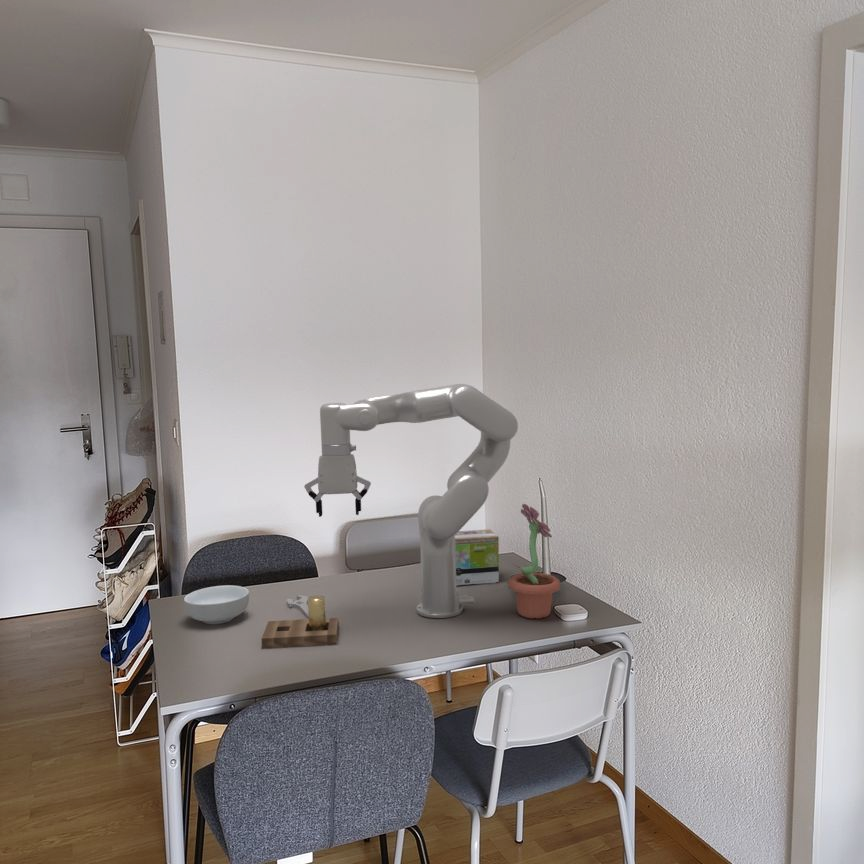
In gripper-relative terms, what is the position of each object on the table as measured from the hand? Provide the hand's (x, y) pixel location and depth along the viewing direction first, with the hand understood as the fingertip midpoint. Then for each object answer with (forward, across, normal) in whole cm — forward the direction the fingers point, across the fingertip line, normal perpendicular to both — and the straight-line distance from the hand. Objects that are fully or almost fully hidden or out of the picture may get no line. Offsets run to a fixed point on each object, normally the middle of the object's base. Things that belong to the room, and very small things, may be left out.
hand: (339, 514), depth 205 cm
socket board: (+28, +10, +12) cm, 32 cm away
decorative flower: (+28, -51, +5) cm, 59 cm away
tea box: (+29, -38, -28) cm, 55 cm away
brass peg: (+28, +6, +12) cm, 31 cm away
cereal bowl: (+29, +34, -5) cm, 45 cm away
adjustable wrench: (+29, +11, -6) cm, 31 cm away
